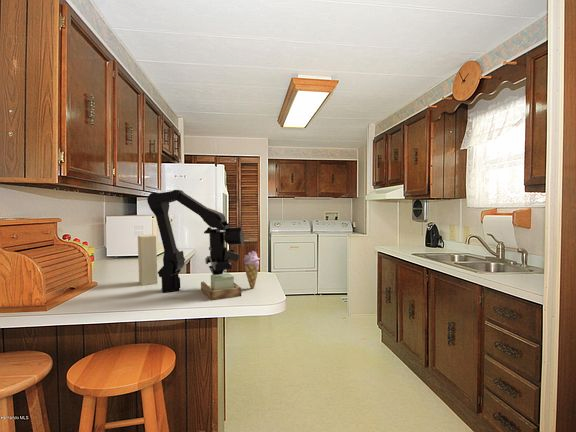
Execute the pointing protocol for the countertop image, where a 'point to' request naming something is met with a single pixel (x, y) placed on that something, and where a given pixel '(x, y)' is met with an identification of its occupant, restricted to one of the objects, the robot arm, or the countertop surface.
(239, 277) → the countertop surface
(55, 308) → the countertop surface
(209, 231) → the robot arm
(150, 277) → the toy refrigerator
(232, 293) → the bay
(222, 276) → the pale green block
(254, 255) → the ice cream cone
